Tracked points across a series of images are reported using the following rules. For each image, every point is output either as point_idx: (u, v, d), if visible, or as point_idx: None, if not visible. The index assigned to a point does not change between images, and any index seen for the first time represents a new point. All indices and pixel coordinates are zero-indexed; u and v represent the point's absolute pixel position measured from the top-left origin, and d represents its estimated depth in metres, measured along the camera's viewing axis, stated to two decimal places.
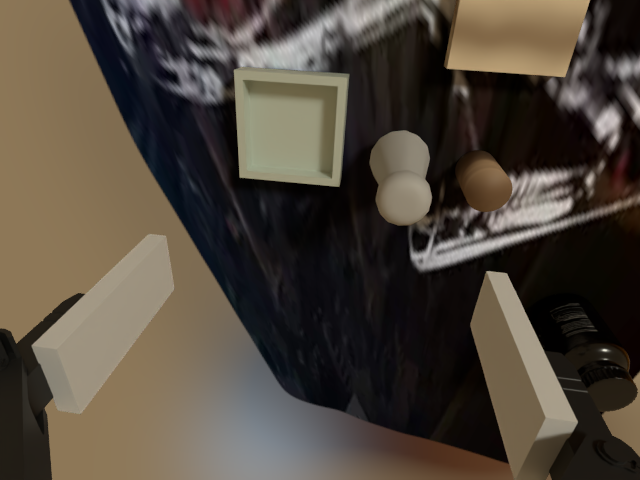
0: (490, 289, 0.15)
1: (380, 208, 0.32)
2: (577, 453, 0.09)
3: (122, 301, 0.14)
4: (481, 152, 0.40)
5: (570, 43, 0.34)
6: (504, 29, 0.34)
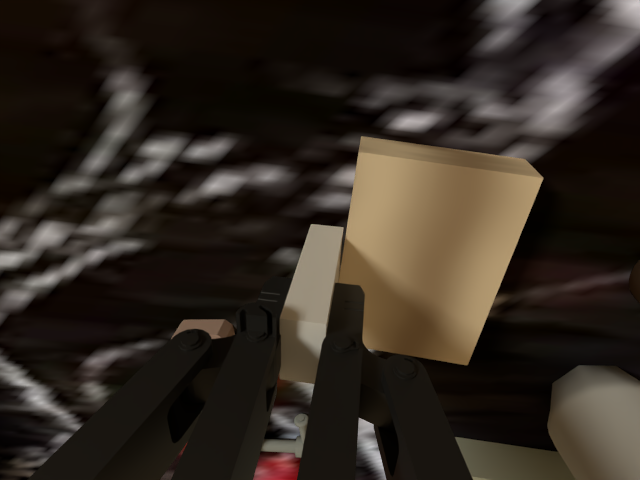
0: (323, 239, 0.17)
1: None
2: (320, 357, 0.11)
3: None
4: None
5: (470, 178, 0.16)
6: (419, 290, 0.18)
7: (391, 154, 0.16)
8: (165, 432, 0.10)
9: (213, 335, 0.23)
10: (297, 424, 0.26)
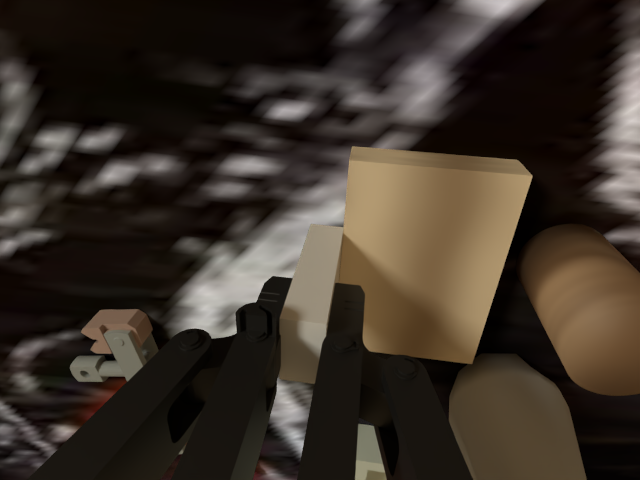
0: (324, 239, 0.17)
1: None
2: (320, 357, 0.11)
3: None
4: (522, 264, 0.19)
5: (461, 179, 0.16)
6: (419, 292, 0.19)
7: (381, 160, 0.16)
8: (165, 431, 0.10)
9: (123, 324, 0.23)
10: None
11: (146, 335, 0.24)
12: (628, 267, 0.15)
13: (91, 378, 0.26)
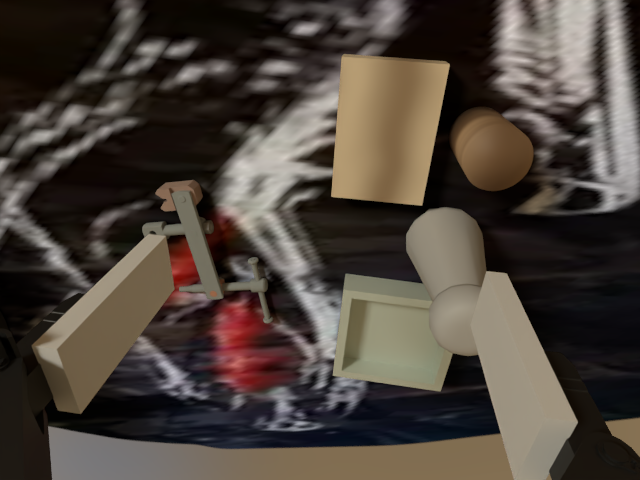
0: (491, 289, 0.15)
1: None
2: (577, 453, 0.09)
3: (122, 301, 0.14)
4: (450, 134, 0.29)
5: (408, 68, 0.27)
6: (386, 150, 0.29)
7: (361, 57, 0.27)
8: None
9: (185, 186, 0.33)
10: (249, 262, 0.37)
11: (199, 198, 0.35)
12: (504, 119, 0.26)
13: None
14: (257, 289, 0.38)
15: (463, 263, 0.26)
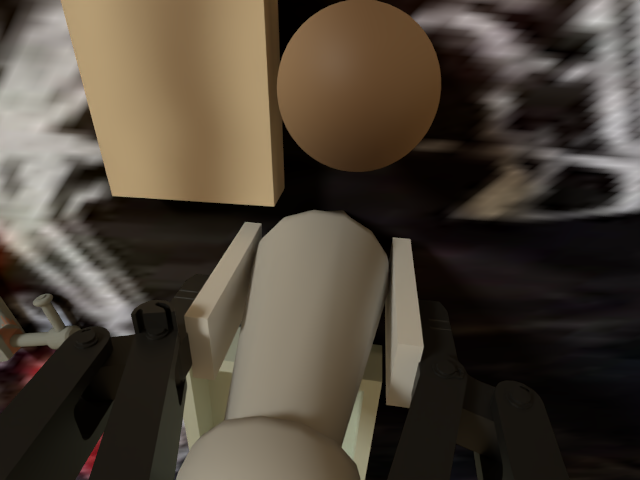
0: (392, 252, 0.17)
1: None
2: (420, 378, 0.11)
3: (238, 281, 0.15)
4: None
5: None
6: (180, 99, 0.15)
7: None
8: (73, 429, 0.10)
9: None
10: (34, 302, 0.22)
11: None
12: None
13: None
14: (59, 345, 0.23)
15: (297, 341, 0.11)
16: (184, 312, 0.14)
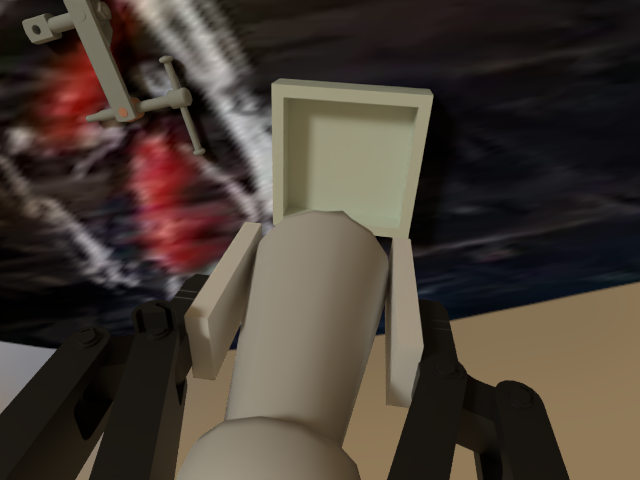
0: (392, 252, 0.17)
1: None
2: (420, 378, 0.11)
3: (238, 281, 0.15)
4: None
5: None
6: None
7: None
8: (74, 429, 0.10)
9: None
10: (161, 58, 0.29)
11: None
12: None
13: (43, 35, 0.29)
14: (177, 101, 0.30)
15: (297, 342, 0.11)
16: (184, 312, 0.14)
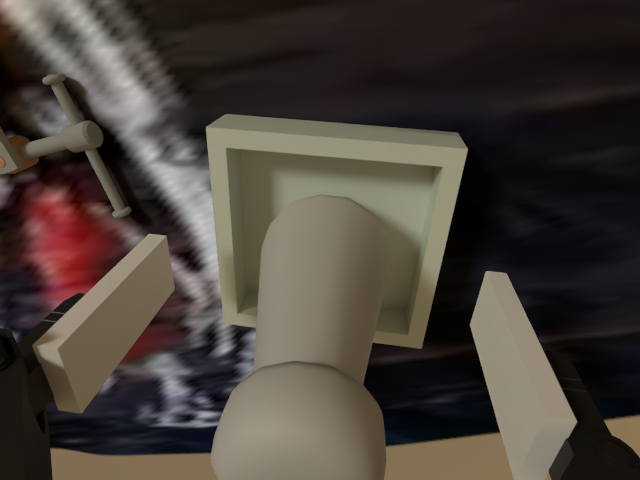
0: (490, 289, 0.15)
1: None
2: (576, 453, 0.09)
3: (122, 301, 0.14)
4: None
5: None
6: None
7: None
8: None
9: None
10: (43, 78, 0.18)
11: None
12: None
13: None
14: (75, 141, 0.19)
15: (317, 304, 0.12)
16: None
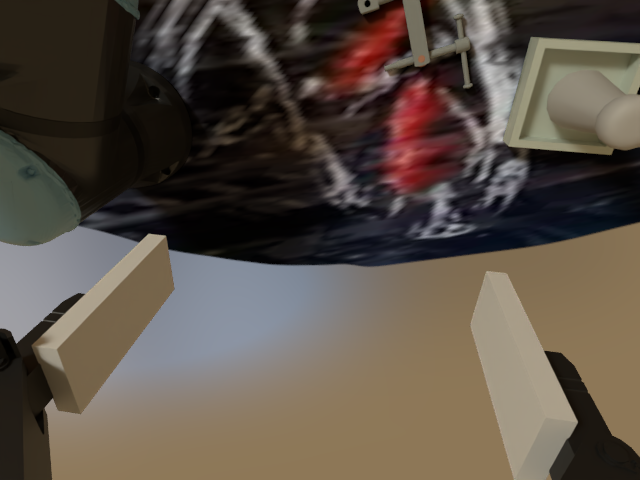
0: (491, 289, 0.15)
1: (632, 147, 0.33)
2: (577, 453, 0.09)
3: (122, 301, 0.14)
4: None
5: None
6: None
7: None
8: None
9: None
10: (457, 15, 0.40)
11: None
12: None
13: (371, 7, 0.41)
14: (463, 46, 0.41)
15: (615, 91, 0.35)
16: None
